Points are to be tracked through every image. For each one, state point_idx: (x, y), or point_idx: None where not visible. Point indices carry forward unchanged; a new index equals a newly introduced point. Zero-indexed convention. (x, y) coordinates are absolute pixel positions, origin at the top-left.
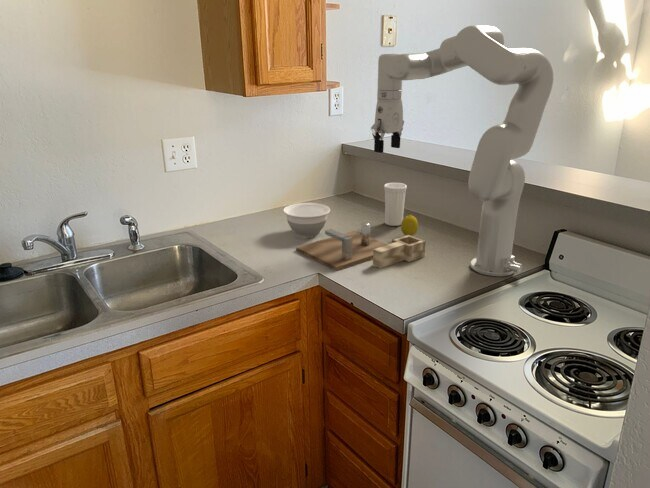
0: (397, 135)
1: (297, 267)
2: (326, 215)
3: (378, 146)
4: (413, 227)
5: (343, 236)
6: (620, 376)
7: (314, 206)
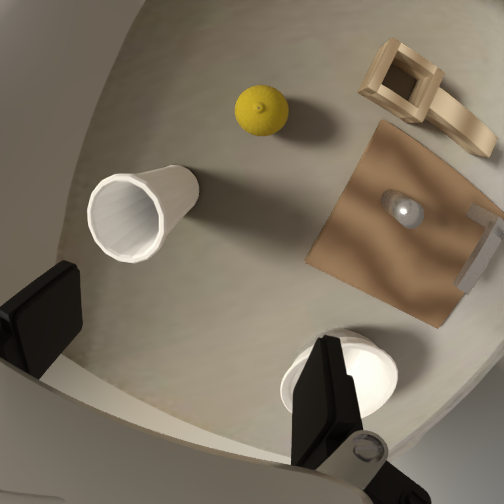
0: (11, 339)
1: (499, 285)
2: None
3: (352, 400)
4: (280, 92)
5: (496, 239)
6: None
7: (290, 387)
